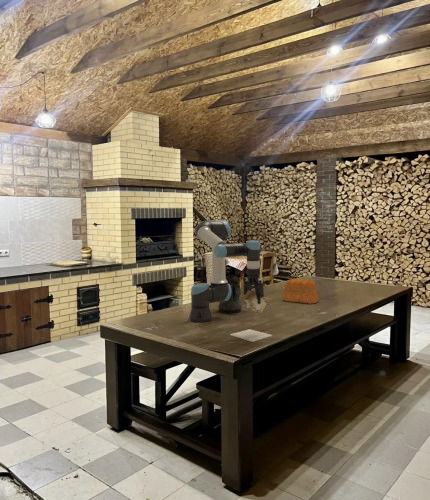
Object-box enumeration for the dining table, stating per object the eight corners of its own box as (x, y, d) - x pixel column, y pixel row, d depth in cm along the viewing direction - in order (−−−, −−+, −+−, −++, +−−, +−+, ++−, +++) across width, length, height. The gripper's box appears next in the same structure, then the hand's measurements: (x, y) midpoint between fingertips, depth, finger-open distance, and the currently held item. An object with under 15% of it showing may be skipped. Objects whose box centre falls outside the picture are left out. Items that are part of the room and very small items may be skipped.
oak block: (253, 310, 254) (243, 298, 248) (258, 302, 257) (248, 290, 250) (261, 312, 250) (250, 300, 243) (266, 304, 252) (256, 291, 246)
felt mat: (229, 335, 251) (229, 334, 251) (249, 330, 262) (249, 329, 261) (252, 342, 238) (252, 340, 237) (272, 336, 248) (272, 335, 248)
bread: (312, 304, 330) (312, 282, 329) (280, 301, 345) (280, 279, 343) (320, 301, 343) (320, 279, 342) (289, 297, 358) (289, 276, 356)
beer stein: (225, 307, 324) (225, 273, 322) (249, 310, 314) (249, 275, 312) (214, 312, 310) (213, 276, 308) (238, 315, 300) (238, 278, 298)
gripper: (270, 268, 243) (270, 310, 245) (246, 266, 257) (246, 305, 259) (261, 270, 238) (261, 312, 240) (236, 267, 252) (237, 306, 254)
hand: (253, 308), depth 250 cm, fingers closed on oak block, 6 cm apart
